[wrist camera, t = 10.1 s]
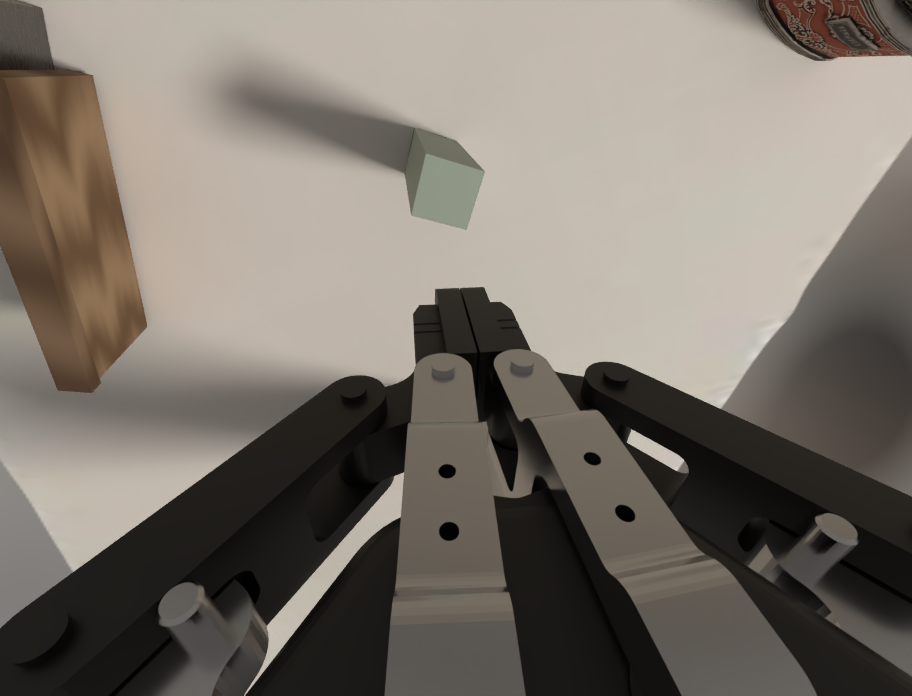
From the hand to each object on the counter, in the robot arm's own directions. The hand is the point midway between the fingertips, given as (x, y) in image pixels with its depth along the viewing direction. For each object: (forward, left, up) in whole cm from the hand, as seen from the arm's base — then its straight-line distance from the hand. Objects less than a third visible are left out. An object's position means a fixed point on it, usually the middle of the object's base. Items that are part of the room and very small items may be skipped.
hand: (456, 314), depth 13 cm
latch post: (+1, -1, -20) cm, 20 cm away
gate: (-8, +19, -20) cm, 29 cm away
